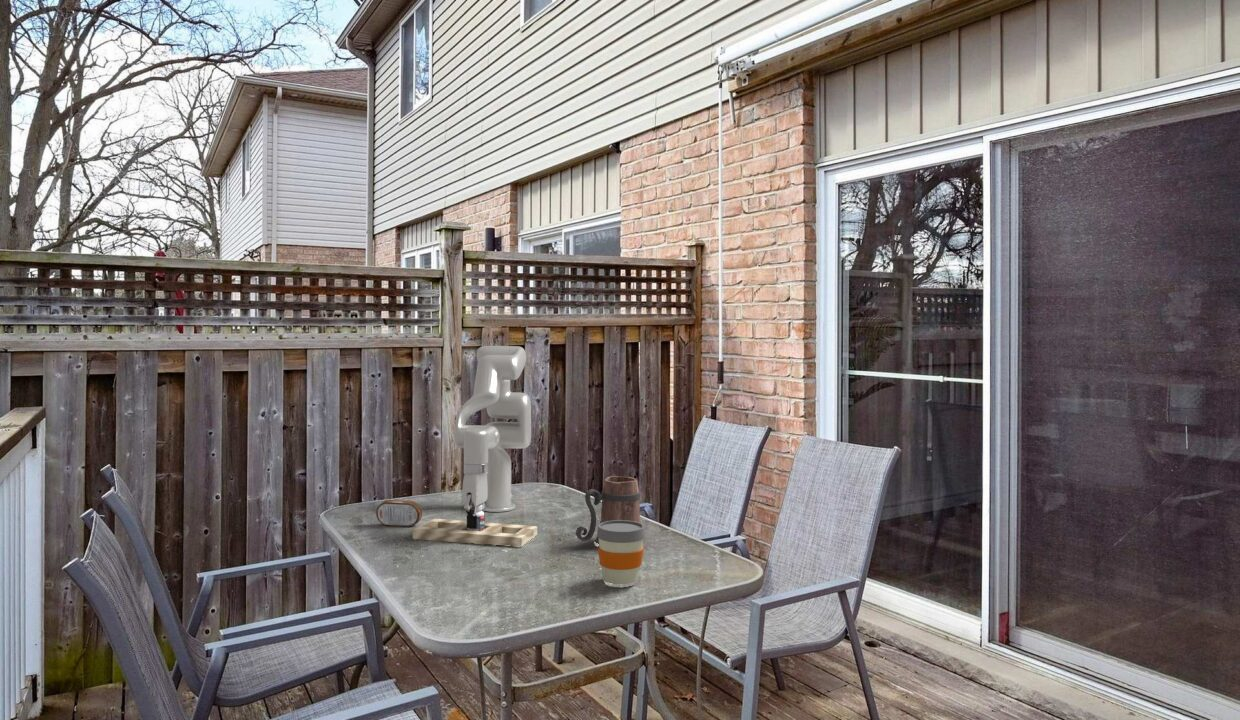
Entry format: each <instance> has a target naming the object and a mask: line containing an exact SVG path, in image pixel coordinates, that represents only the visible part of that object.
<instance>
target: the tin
mask: <svg viewBox="0 0 1240 720" xmlns="http://www.w3.org/2000/svg"><path fill="white" fill-rule="evenodd" d="M422 511H423V510H422V508H421V506H420V505H419V504H418V503H417V502H416V501H413V500H402V499H401V500H398V499H387V500H383V501H382V502H381V503H380V504H379V505H378V506H377V508H376V512H375V514H376V519H377V521H378V522H379V523H380V524H381V525H383V526H386V525H389V526H388V527H401V526H411V527H414V526H416V524H418V523H420V521H421V520H422V517H423V512H422Z"/></svg>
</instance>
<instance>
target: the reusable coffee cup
mask: <svg viewBox="0 0 1240 720" xmlns="http://www.w3.org/2000/svg"><path fill="white" fill-rule="evenodd" d="M596 534H597V535H596V537H598V539H599V546H598V547H597V552H598V553H597V554H598V560H599V566H601V573H602V581H603V580H604V581H606V582H609V583H613V584H628V583H632V582H635V581H637V580H638V581H639V575H640V574H639V573H640V566H642V563H643V555H644V549H645V547H643V539H644V540H645V538H646V533H645V525H644V524H643V523H642V522H641V523H639V522H635V521H628V520H612V521H606V522H602V523H600V522H599V523H598V526H597V533H596Z"/></svg>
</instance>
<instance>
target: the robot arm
mask: <svg viewBox="0 0 1240 720" xmlns="http://www.w3.org/2000/svg"><path fill="white" fill-rule="evenodd" d="M476 360H477V365H476V373H475V379H474V380H475V381H474V385H473V386H474V387H473V394H472V396H471V398H468V400H466V402H465V403H464V404H463V405H462V407H461V408H460V409H459V411H458V413H457V415H456V418H455V425H454V434H453V442H454V445H456V447H458V448H460V449H463V474H464V475H463V480H462V481H463V482H462V489H461V490H462V494H461V504H462V506H463V508H464V510H465V516H466V521H467V528H477V515H476V509H477V506H478V505H480V504H482V511H483V512H484V523H485V522H486V519H485V517H486V515H485V514H486V512H490V513H502V512H508V511H513V510H515V508H516V504H515V503H513V502H512V499H513V497H514V496H513V493H512V459H511V457H510V454H508V452H507V451H506V449H507V450H508V449H516V450H517V449H521V450H522V449H527V448H528V447H529V446H530V445H531V442H532V402H531V397H530V396H529V395H528V394H527V393H525V392H519V391H517V392H512V391H511V381H516V380H518V379H519V377H520V376H521V374H522V373H523V370H524V368H525V366H526V363H527V353H526V351H525V349H524V348H523V347H522V346H519V345H517V346H516V345H485V346H480V347H479V348H477V351H476ZM485 408H486V412H487V415H488V417H490V418H494V419H505V420H506V419H507V420H508V419H510V420H511V419H512V420H513V419H515V420H517V421H518V422H517V421H515V422H514V421H513V422H511V421H491V422H488V423H486V424H485V425H476V424H475V425H473V424H466V423H467V421H468V419H469V418H470V417H472V416H473V414H475V413H478V412H479V411H481V410H484V409H485ZM471 504H473V505H471ZM471 507H472V508H473V510H472V508H471Z"/></svg>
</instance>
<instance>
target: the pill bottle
mask: <svg viewBox="0 0 1240 720" xmlns="http://www.w3.org/2000/svg"><path fill="white" fill-rule="evenodd" d="M470 505H473V504H470ZM471 508H472V507H471ZM472 510H473V508H472ZM476 515H477V528H467V530H471V531H483V530H484V512H483V511H482V504H480V505H478V506H477V509H476Z"/></svg>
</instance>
